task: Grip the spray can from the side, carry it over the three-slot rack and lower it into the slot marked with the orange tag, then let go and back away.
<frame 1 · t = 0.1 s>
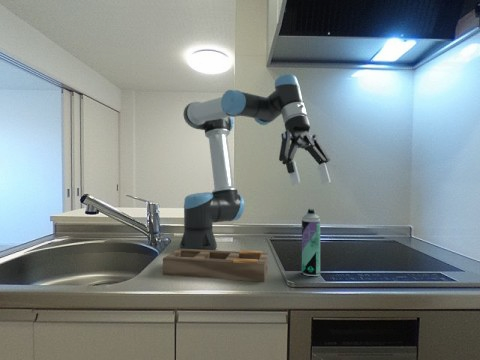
hand: (312, 183, 82), 28 cm above the worktop, tool tilted 20°, fingers open, 13 cm apart
rack: (217, 271, 87), on the worktop
spray can: (310, 274, 84), on the worktop
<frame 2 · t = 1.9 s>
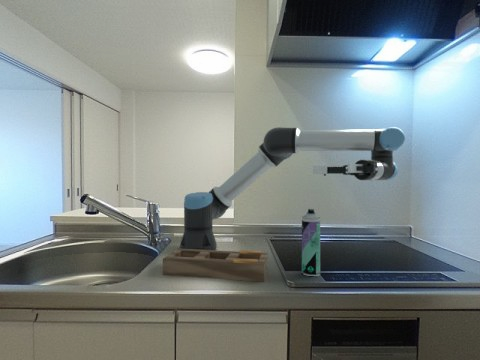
hand: (330, 169, 89), 32 cm above the worktop, tool horizontal, fingers open, 13 cm apart
nothing on the worktop moved.
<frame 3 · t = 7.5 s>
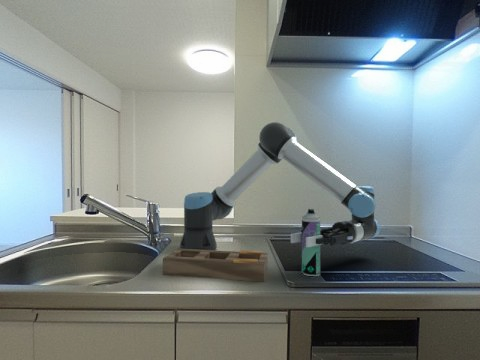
hand: (299, 240, 81), 11 cm above the worktop, tool horizontal, fingers closed on spray can, 5 cm apart
spray can: (310, 274, 84), on the worktop, touching gripper
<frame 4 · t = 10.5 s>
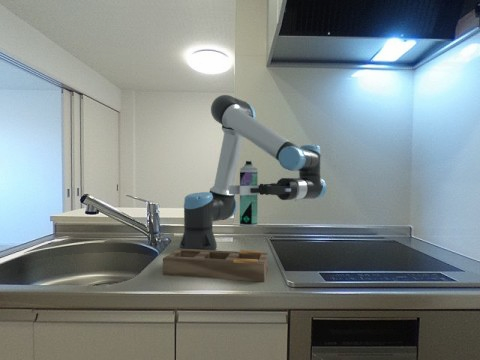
hand: (234, 190, 82), 26 cm above the worktop, tool horizontal, fingers closed on spray can, 5 cm apart
spray can: (248, 226, 85), point 15 cm above the worktop, touching gripper
when the fingers open (12 cm above the worktop, at t = 14.0 s): spray can drops 1 cm, resting in rack.
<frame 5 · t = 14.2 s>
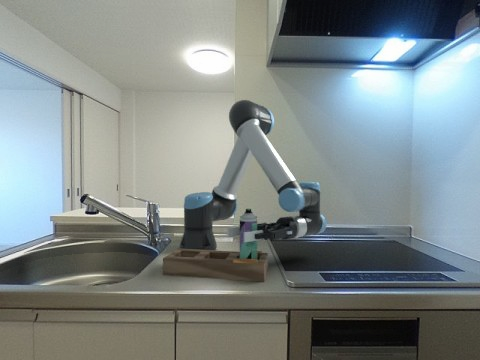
hand: (235, 234, 82), 12 cm above the worktop, tool horizontal, fingers open, 8 cm apart
spray can: (248, 274, 85), resting in rack
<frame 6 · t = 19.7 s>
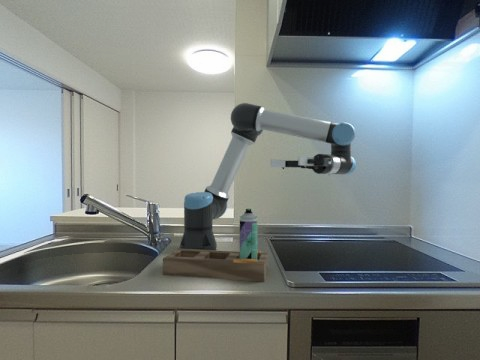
hand: (284, 162, 93), 35 cm above the worktop, tool horizontal, fingers open, 13 cm apart
nothing on the worktop moved.
at the end: spray can 0.0 cm from the target spot on the rack, point 0.0 cm above the rack's base; spray can tilted 0°; the gripper is holding nothing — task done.
